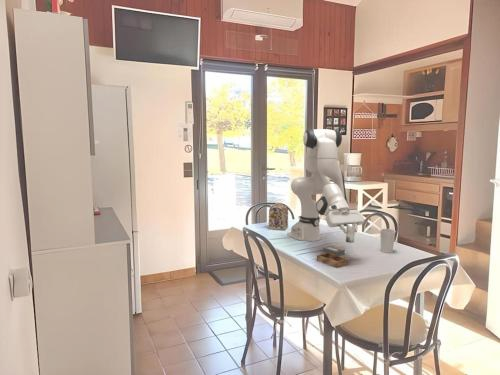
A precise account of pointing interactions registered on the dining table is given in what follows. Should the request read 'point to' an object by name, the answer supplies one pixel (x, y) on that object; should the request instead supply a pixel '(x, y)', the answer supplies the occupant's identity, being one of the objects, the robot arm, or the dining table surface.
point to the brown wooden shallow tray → (332, 260)
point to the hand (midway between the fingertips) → (351, 232)
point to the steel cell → (350, 232)
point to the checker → (334, 250)
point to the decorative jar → (278, 217)
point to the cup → (387, 240)
